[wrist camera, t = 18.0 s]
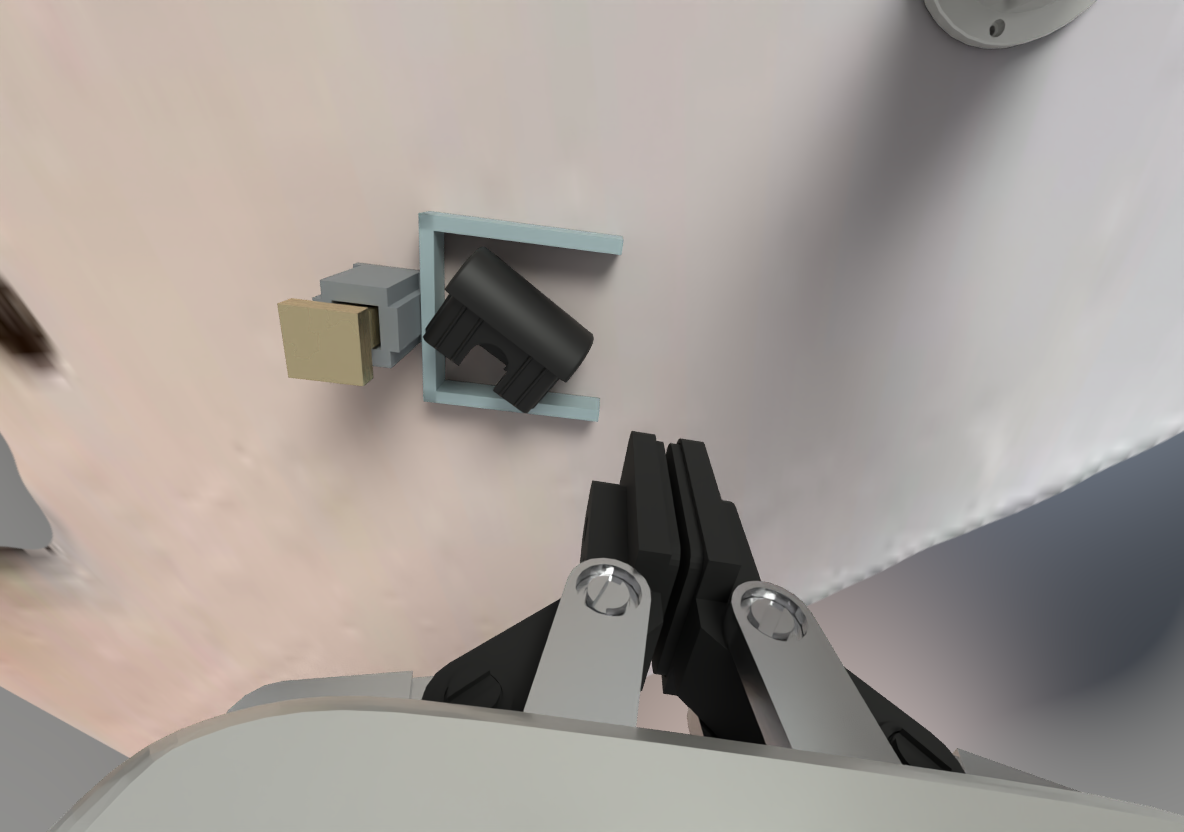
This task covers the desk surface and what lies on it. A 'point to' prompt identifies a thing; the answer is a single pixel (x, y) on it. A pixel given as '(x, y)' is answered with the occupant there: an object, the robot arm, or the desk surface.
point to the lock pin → (329, 340)
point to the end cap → (508, 329)
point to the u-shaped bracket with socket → (421, 294)
